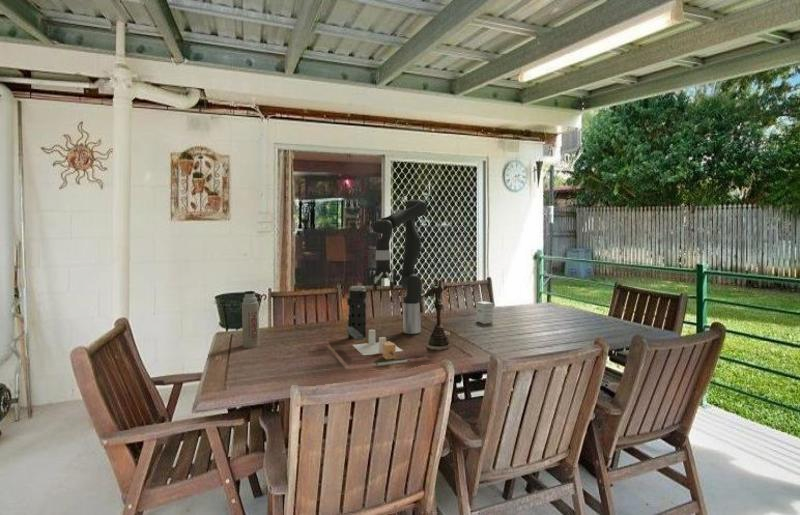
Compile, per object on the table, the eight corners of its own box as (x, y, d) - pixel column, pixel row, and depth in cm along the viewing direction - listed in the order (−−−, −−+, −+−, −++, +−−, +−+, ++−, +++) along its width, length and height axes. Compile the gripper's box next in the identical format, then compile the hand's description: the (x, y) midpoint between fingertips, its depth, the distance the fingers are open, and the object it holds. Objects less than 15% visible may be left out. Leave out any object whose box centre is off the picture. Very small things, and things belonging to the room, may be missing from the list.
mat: (399, 356, 217) (399, 354, 217) (407, 362, 208) (407, 360, 208) (371, 359, 212) (371, 357, 212) (378, 365, 203) (378, 363, 203)
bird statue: (414, 344, 238) (414, 276, 235) (434, 340, 245) (434, 275, 243) (433, 351, 225) (434, 280, 222) (454, 347, 232) (455, 278, 229)
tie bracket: (389, 343, 238) (389, 327, 238) (403, 353, 221) (403, 336, 220) (352, 347, 231) (352, 331, 230) (363, 358, 213) (363, 340, 213)
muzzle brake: (349, 340, 245) (368, 339, 248) (348, 288, 243) (368, 287, 246) (346, 336, 254) (364, 334, 257) (345, 285, 252) (364, 285, 255)
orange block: (392, 357, 213) (392, 342, 212) (397, 361, 206) (397, 346, 206) (382, 358, 211) (382, 343, 211) (388, 362, 204) (388, 347, 204)
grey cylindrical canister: (476, 321, 290) (476, 301, 289) (486, 320, 294) (486, 301, 292) (483, 324, 284) (483, 303, 283) (493, 322, 287) (493, 302, 286)
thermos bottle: (260, 346, 233) (259, 291, 231) (244, 348, 229) (242, 293, 227) (257, 342, 240) (256, 289, 238) (241, 344, 236) (240, 290, 234)
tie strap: (352, 330, 230) (352, 326, 230) (363, 339, 213) (363, 335, 213) (346, 331, 229) (346, 327, 229) (356, 340, 212) (356, 336, 211)
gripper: (393, 257, 244) (393, 287, 245) (367, 258, 239) (367, 289, 240) (398, 258, 237) (398, 289, 238) (372, 260, 232) (372, 291, 233)
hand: (383, 289), depth 239 cm, fingers open, 8 cm apart
